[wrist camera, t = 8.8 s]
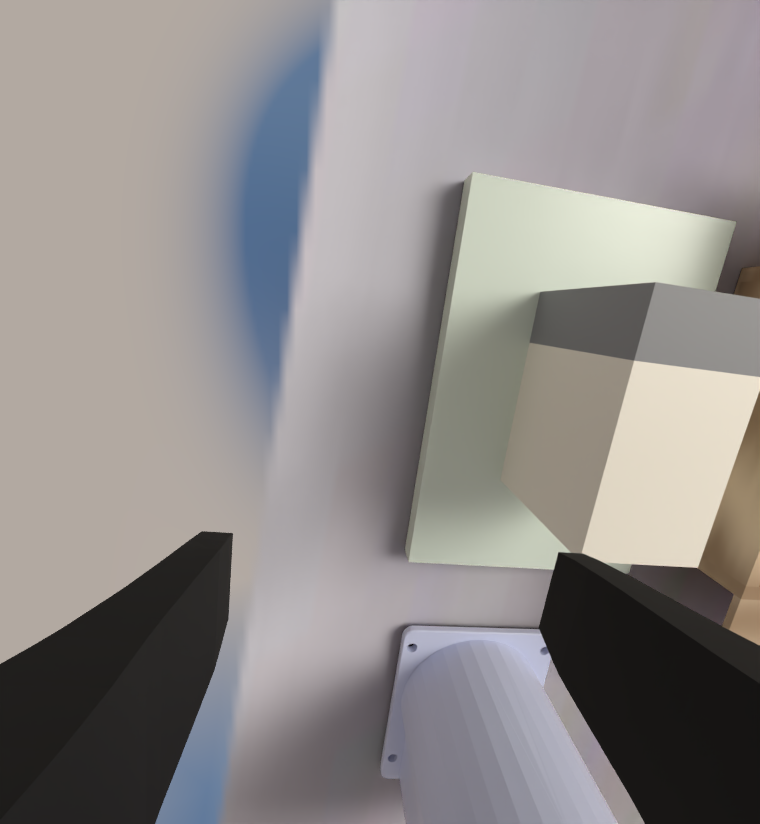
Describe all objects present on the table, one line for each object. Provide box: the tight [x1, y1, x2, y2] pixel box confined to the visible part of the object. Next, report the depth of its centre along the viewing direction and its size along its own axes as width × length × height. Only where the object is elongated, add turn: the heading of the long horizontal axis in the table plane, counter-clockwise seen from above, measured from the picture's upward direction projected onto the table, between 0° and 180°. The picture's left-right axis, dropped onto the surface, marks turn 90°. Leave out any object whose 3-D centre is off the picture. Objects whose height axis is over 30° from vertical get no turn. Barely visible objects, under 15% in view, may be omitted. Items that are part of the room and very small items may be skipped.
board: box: [405, 172, 736, 573], centre depth 18 cm, size 16×11×1 cm
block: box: [500, 282, 760, 568], centre depth 14 cm, size 8×4×6 cm, turn 173°
